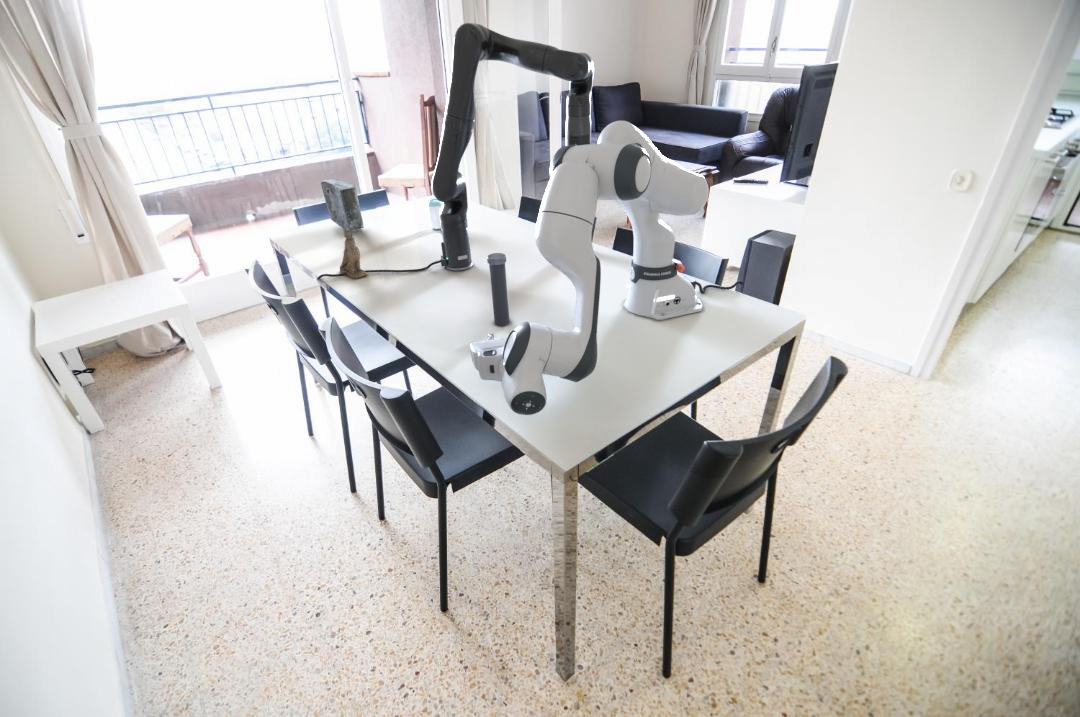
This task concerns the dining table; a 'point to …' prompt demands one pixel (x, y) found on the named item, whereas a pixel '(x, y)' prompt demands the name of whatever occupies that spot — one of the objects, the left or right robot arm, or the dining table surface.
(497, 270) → the grey cylinder
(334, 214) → the concrete block
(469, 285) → the dining table surface
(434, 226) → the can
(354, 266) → the worn brown figurine
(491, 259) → the lid
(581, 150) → the right robot arm
